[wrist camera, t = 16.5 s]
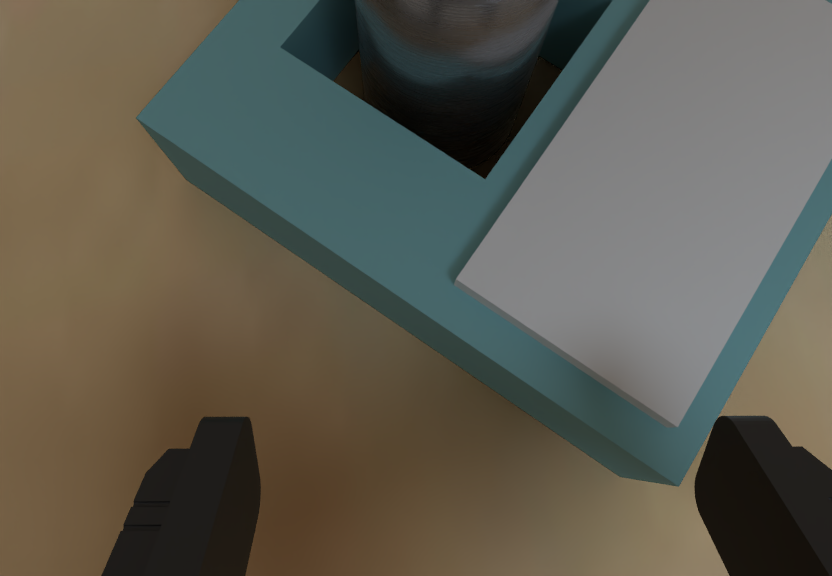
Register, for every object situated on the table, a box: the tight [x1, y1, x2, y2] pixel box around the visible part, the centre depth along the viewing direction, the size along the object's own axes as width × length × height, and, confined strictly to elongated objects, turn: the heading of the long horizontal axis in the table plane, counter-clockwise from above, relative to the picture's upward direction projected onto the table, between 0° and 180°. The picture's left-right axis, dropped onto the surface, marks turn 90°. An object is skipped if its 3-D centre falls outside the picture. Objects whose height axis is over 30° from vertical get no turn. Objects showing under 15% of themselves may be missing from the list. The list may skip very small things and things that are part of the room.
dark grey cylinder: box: [355, 0, 559, 168], centre depth 16 cm, size 5×5×10 cm
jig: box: [136, 0, 832, 487], centre depth 19 cm, size 16×14×5 cm
